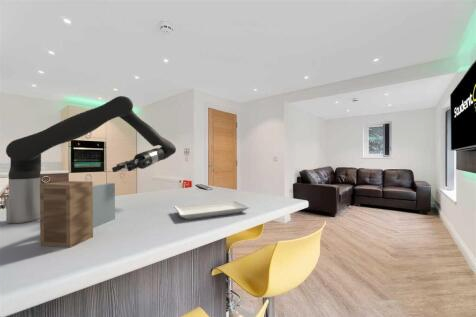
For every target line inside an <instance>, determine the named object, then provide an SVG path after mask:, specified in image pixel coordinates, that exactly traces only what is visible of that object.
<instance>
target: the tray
mask: <svg viewBox="0 0 476 317" xmlns="http://www.w3.org/2000/svg"><path fill="white" fill-rule="evenodd" d="M173 208H174V209H175V210H176V212H177V214H178V215H179V216H180V217H181V218H183V219H185V220H194V219H201V218H202V219H203V218H209V217H217V216H224V215H225V216H226V215H233V214H240V213H242V212H244V211H247V210H248V209H249V208H250V206H248V205H245V204H244V203H242V202H239V201H237V200H235V199H232V200H221V201H219V200H218V201H211V202H201V203H199V202H198V203H191V204H180V205H178V204H177V205H174V206H173Z"/></svg>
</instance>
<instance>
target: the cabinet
mask: <svg viewBox="0 0 476 317" xmlns="http://www.w3.org/2000/svg"><path fill="white" fill-rule="evenodd" d="M93 183H94V182H93V181H88V180H87V181H80V180H79V181H77V180H72V181H71V180H70V181H69V180H68V181H67V180H66V181H65V180H63V181H55V182H49V183H47V182H46V183H40V219H39V222H40V223H39V226H40V227H39V228H40V230H39V232H40V233H39V236H40V239H39V241H40V246H42V247H43V246H44V247H45V246H46V247H61V248H72V247H74V246H77V245H78V244H80V243H84V242H85V241H87V240H89V239H91V238H92V239H93V237H94V228H93V186H94V185H93Z"/></svg>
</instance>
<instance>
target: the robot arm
mask: <svg viewBox="0 0 476 317" xmlns="http://www.w3.org/2000/svg"><path fill="white" fill-rule="evenodd" d="M133 107H134V104H133V101H132V99H131V98H129V97H127V96H125V95H123V96H122V95H119V96H116V97H114V98H112V99H110V100H109V101H107V102H105V103H104V104H102V105H99V106H97V107H94V108H91V109H88V110H84V111H82V112H80V113H77V114H75V115H73V116H70V117H67V118H65V119H63V120H61V121H58V122H57V123H55V124H53V125H51V126H49V127H47V128H46V129H44V130H42V131H39V132H35V133H32V134H29V135H27V136H24V137H19V138H17V139H14V140H12V141H10V142H9V143H8V144H7V145H6V148H5V154H6V155H7V157H8V158H9V159H10V166H9V171H8V197H7V198H6V199H5V202H6V203H5V204H6V205H5V208H6V209H5V210H6V211H5V212H6V217H5V218H6V221H5V222H6V224H21V223H22V224H23V223H29V222H34V221H38V220H40V184H41V171H42V154H43V153H45V152H46V151H48V150H50V149H53V148H55V147H56V146H59V145H61V144H64V143H68V142H71V141H74V140H76V139H80V138H82V137H84V136H86V135H88V134H90V133H92V132H93V131H95V130H97V129H99V127H101V126H102V125H105V124H106V123H107V122H110V121H111V120H113V119H115V118H120V119H122V120H123V121H125V123H127V124H128V125H129V126H131V127H132V128H133V129H134V130H135V131H136V132H137V133H138V134H139V135H140V136H141V137H143V138H144V139H145V141H146V142H147V143H149V144H150V145H151V146H152V147H154V148H153V149H152V148H151V149H148V150H145V151H142V152H140V153H136V154H135V155H134V158H132V159H130V160H125V161H123V162H119V163H117V164H116V166H113V167H111V170H112V173H117V172H118V171H122V170H127V171H128V172H132V171H133V170H135V169H137V170H138V169H140V170H141V169H142V170H144V169H146V168H148V167H151V166H153V165H154V164H156V163H157V162H160V161H163V160H166V159H168V158H169V157H171V156H172V155H174V154H175V153H176V152H177V147H176V146H175V144H173V143H172V142H171V141H169V140H168V139H166V138H165V137H163V136H162V135H161V134H159V133H158V132H157V131H156V130H155V129H154V128H153V127H152V126H151V125H149V124H148V123H147V122H145V120H144V121H143V119H141V118H140V117H139V116H138V115H137V113H135V111H134V110H133V109H134V108H133ZM157 146H160V147H157ZM155 147H156V148H155Z"/></svg>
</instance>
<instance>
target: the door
mask: <svg viewBox="0 0 476 317" xmlns="http://www.w3.org/2000/svg"><path fill="white" fill-rule="evenodd" d="M115 220H116V182H115V183H114V182H113V183H112V182H107V183H102V184H96V185H95V184H94V185H93V229H95V228H97V227H100V226H102V225H105V224H107V223H109V222H113V221H115Z"/></svg>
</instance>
